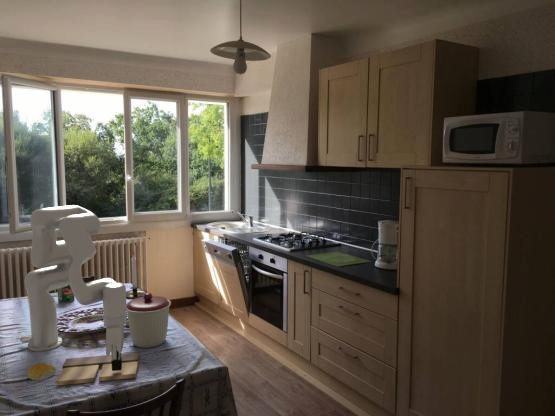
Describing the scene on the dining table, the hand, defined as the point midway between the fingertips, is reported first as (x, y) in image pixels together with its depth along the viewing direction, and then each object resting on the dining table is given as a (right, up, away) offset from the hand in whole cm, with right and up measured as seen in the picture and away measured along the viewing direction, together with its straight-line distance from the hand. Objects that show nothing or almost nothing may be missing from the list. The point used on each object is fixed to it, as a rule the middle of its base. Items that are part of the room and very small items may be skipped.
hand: (116, 369), depth 162 cm
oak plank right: (0, -2, +3) cm, 4 cm away
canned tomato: (-54, +8, +80) cm, 97 cm away
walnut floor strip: (-9, -2, +10) cm, 14 cm away
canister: (+3, +1, +29) cm, 29 cm away
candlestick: (-8, +3, +49) cm, 50 cm away
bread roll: (-27, -3, +2) cm, 27 cm away
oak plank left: (-13, -3, 0) cm, 14 cm away
